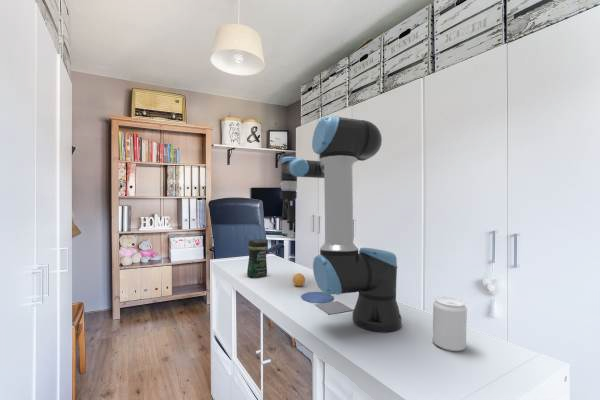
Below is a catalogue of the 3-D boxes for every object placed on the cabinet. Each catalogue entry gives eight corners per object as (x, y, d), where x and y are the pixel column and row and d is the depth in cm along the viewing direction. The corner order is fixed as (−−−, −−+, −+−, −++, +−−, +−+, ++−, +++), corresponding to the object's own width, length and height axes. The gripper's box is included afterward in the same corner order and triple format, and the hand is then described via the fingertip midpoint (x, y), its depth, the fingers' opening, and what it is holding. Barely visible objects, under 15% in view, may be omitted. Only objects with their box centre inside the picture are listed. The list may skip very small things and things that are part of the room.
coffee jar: (252, 279, 142) (253, 240, 142) (245, 275, 149) (245, 238, 149) (269, 276, 148) (270, 239, 148) (262, 273, 154) (262, 237, 154)
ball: (307, 286, 132) (307, 274, 132) (295, 288, 129) (296, 275, 129) (301, 283, 137) (301, 271, 137) (290, 284, 134) (291, 272, 134)
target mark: (340, 300, 115) (340, 300, 115) (310, 305, 109) (310, 304, 109) (323, 290, 126) (323, 290, 126) (295, 294, 121) (295, 294, 121)
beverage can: (458, 339, 84) (458, 297, 84) (471, 354, 76) (472, 307, 76) (428, 337, 85) (429, 295, 85) (438, 351, 77) (439, 305, 77)
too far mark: (353, 310, 104) (353, 309, 104) (329, 314, 100) (329, 314, 100) (337, 301, 113) (337, 300, 113) (314, 305, 109) (314, 304, 109)
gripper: (276, 190, 150) (275, 231, 151) (285, 189, 126) (284, 239, 126) (291, 190, 152) (290, 231, 152) (302, 190, 128) (301, 239, 128)
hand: (287, 235), depth 139 cm, fingers open, 13 cm apart
